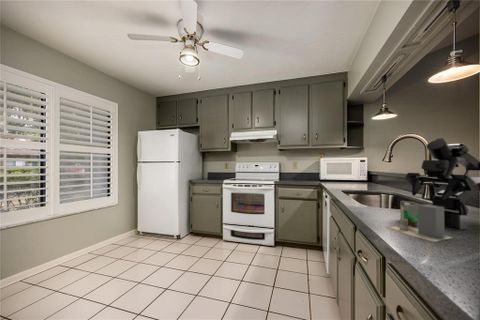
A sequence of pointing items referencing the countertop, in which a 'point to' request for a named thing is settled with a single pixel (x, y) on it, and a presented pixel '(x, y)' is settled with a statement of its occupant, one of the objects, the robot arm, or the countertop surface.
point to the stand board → (414, 231)
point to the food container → (409, 212)
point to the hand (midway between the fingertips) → (426, 196)
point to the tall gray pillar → (431, 220)
